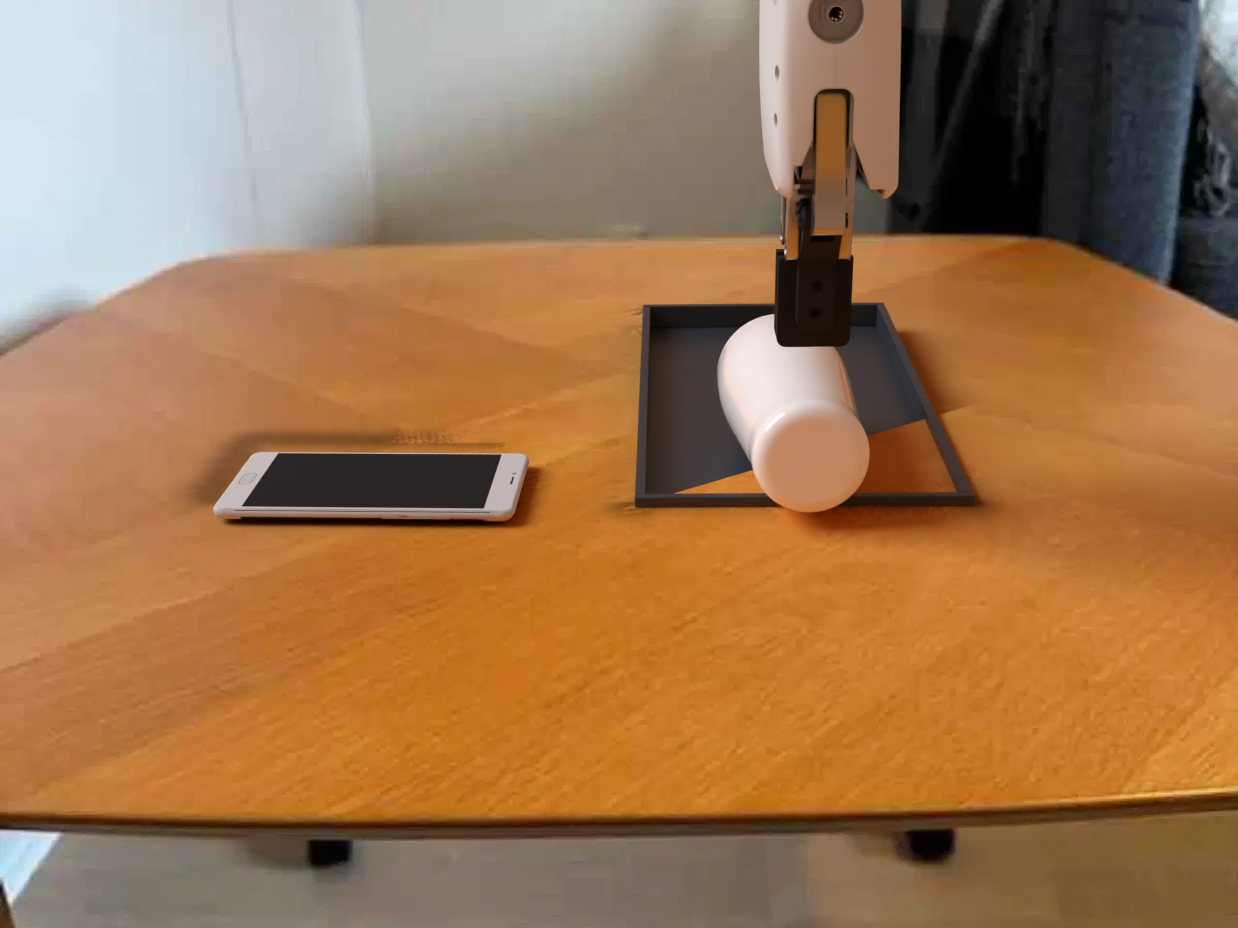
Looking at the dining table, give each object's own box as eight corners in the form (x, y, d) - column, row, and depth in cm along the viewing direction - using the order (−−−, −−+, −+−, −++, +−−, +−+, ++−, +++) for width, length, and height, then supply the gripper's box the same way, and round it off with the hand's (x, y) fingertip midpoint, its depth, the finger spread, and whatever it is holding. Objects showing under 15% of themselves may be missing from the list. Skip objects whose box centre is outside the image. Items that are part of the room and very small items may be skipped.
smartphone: (252, 450, 79) (530, 452, 78) (254, 461, 79) (530, 463, 78) (209, 509, 72) (513, 512, 71) (210, 521, 72) (513, 524, 71)
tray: (971, 534, 70) (974, 495, 69) (635, 535, 70) (634, 497, 69) (882, 330, 98) (883, 302, 97) (643, 332, 99) (642, 304, 98)
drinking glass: (743, 539, 67) (721, 437, 81) (892, 523, 66) (843, 424, 81) (730, 397, 65) (709, 318, 79) (884, 380, 64) (835, 305, 78)
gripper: (958, -95, 51) (924, 400, 58) (893, -110, 64) (872, 292, 72) (742, -91, 51) (735, 402, 58) (723, -107, 65) (719, 293, 72)
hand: (811, 340), depth 65 cm, fingers closed
